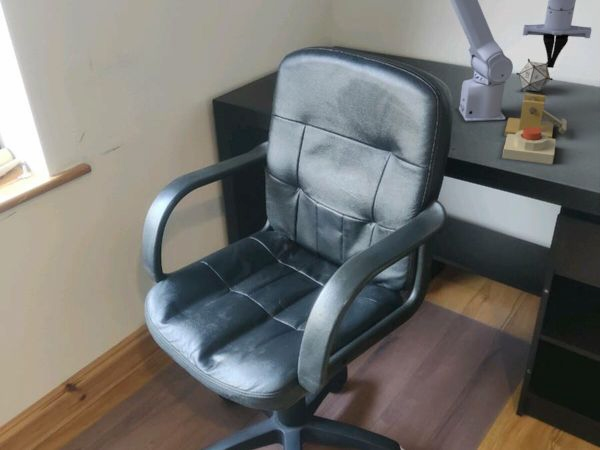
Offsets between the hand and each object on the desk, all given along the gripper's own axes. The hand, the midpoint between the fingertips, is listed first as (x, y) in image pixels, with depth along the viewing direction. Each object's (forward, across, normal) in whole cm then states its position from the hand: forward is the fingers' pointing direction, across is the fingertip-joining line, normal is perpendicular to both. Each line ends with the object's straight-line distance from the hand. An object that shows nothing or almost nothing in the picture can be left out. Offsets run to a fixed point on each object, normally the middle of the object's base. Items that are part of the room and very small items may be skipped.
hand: (550, 66), depth 147 cm
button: (+7, -3, -27) cm, 28 cm away
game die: (+11, -3, +11) cm, 15 cm away
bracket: (+10, -3, -15) cm, 19 cm away
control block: (+10, -3, -27) cm, 29 cm away
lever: (+7, 0, -15) cm, 17 cm away
